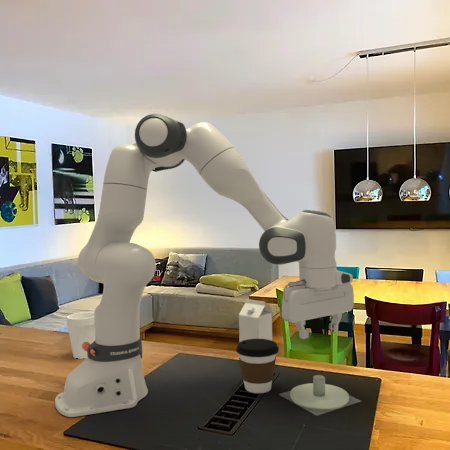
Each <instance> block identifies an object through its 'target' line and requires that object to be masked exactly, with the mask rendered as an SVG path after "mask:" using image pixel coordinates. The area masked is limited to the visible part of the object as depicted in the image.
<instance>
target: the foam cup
mask: <svg viewBox="0 0 450 450" xmlns="http://www.w3.org/2000/svg"><path fill="white" fill-rule="evenodd" d="M66 326H67V329H68V333H69V335H68V336H69V340H70V341H69V342H70V346H71V347H70V348H71V351H72V356H73V359H76V358H78V359H77V360H81V359H83V358H85V359H86V358H88V356H87V351H85V350H84V349H83V348H82V344H83V343H84V342H89V343H90V344H92V343H93V342H94V341H95V321H94V312H91V311H89V312H88V311H87V312H86V311H85V312H76V313H71V314H69V315H67V316H66Z"/></svg>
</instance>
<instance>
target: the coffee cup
mask: <svg viewBox="0 0 450 450" xmlns="http://www.w3.org/2000/svg"><path fill="white" fill-rule="evenodd" d="M279 350H280V349H279V347H278V344H277V343H276V342H275V341H273V340H272V341H271V340H267V339H248V340H243V341H241V342H238V344H237V346H236V348H235V351H236V353H237V354H238V356H239V357H238V358H239V359H238V361H239V367H240V372H241V378H242V380H243V384H244V388H245V390H246V391H247V392H249V393H253V394H264V393H268V392H270V391H271V390H272V383H273V379H274V374H275V368H276V367H275V366H276V359H277V354H278V353H279Z"/></svg>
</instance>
